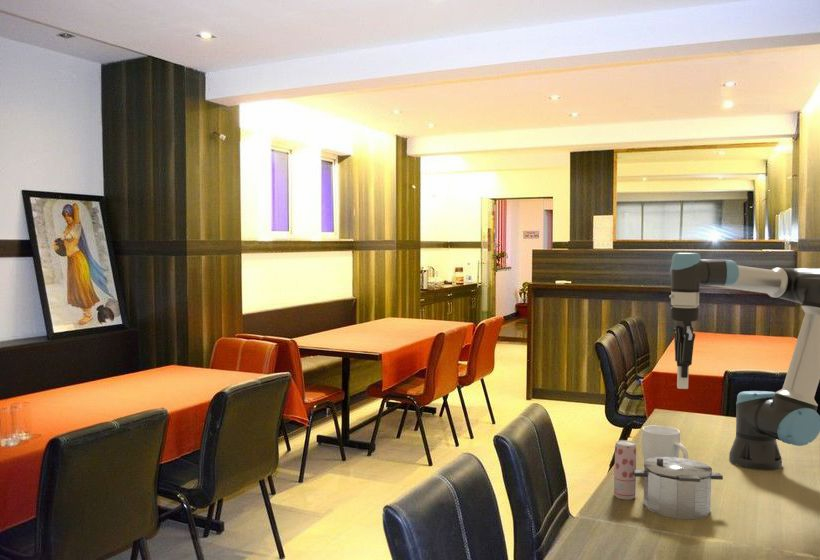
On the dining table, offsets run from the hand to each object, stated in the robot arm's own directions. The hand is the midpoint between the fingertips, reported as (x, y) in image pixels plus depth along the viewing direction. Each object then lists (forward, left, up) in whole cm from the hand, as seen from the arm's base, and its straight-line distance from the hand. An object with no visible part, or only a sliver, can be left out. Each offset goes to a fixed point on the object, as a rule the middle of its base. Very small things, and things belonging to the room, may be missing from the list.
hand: (682, 388), depth 201 cm
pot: (+6, +18, -28) cm, 34 cm away
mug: (+2, -11, -29) cm, 31 cm away
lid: (+6, +19, -18) cm, 27 cm away
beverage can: (+18, +11, -29) cm, 36 cm away
